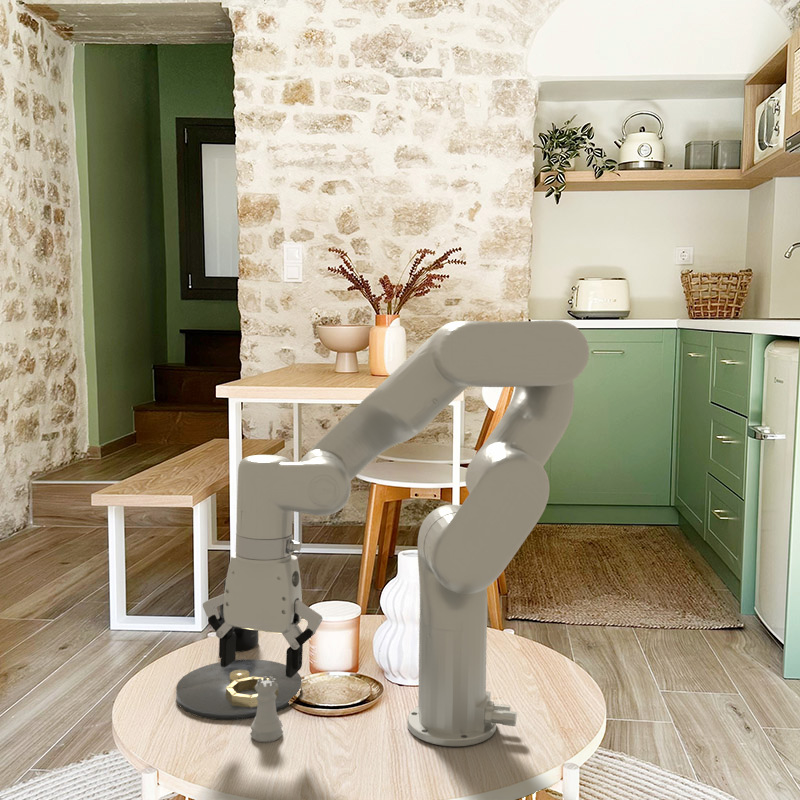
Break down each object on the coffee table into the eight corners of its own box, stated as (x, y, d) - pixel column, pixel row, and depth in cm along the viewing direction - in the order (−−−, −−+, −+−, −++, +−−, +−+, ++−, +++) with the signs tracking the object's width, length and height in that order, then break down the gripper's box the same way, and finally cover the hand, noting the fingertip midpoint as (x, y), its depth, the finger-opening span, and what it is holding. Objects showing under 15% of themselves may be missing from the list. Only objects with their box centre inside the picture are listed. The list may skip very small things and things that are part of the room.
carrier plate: (319, 675, 140) (319, 657, 140) (270, 727, 122) (270, 706, 122) (213, 662, 145) (213, 645, 145) (152, 710, 127) (151, 690, 127)
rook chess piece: (266, 747, 116) (266, 689, 116) (243, 737, 119) (243, 681, 118) (289, 734, 120) (289, 679, 119) (267, 725, 123) (266, 671, 122)
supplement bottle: (245, 635, 158) (244, 571, 157) (265, 646, 153) (265, 579, 152) (211, 644, 154) (211, 578, 153) (232, 655, 149) (231, 587, 148)
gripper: (333, 547, 119) (328, 668, 120) (219, 534, 123) (215, 650, 124) (313, 560, 111) (308, 688, 113) (192, 545, 116) (189, 669, 117)
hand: (259, 668), depth 119 cm, fingers open, 9 cm apart
